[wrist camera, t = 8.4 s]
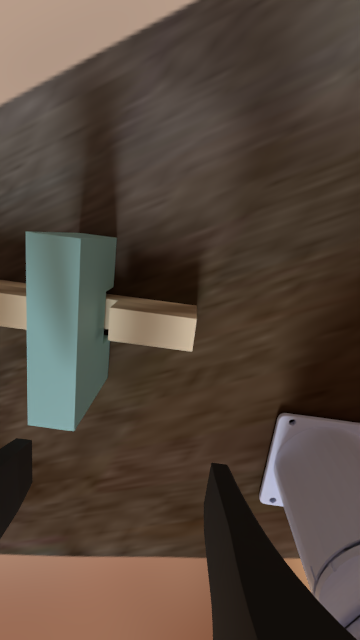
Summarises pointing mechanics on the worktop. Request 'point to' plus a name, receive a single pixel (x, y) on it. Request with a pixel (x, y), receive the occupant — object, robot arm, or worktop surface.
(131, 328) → the birch slotted rail
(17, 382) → the worktop surface
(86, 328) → the teal notched block
